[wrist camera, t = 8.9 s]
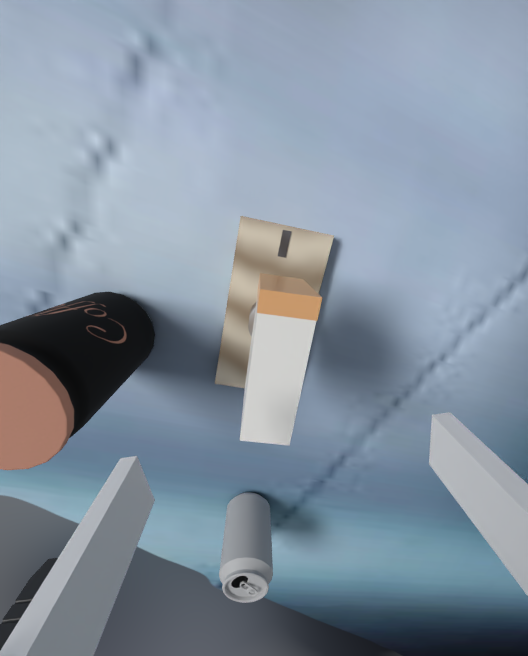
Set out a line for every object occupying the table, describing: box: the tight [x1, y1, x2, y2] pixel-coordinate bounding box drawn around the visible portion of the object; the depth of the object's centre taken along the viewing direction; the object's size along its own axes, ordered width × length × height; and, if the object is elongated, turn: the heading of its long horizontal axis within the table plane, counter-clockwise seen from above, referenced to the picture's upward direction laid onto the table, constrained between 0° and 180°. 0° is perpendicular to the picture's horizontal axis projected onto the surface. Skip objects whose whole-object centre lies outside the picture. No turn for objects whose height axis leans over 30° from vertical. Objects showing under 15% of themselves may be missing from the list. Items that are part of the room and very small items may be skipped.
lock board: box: [215, 216, 334, 388], centre depth 33 cm, size 22×11×6 cm, turn 169°
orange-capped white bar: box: [240, 273, 322, 445], centre depth 24 cm, size 4×12×11 cm, turn 172°
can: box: [219, 492, 273, 603], centre depth 41 cm, size 8×8×12 cm
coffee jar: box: [0, 292, 155, 470], centre depth 27 cm, size 11×11×18 cm
